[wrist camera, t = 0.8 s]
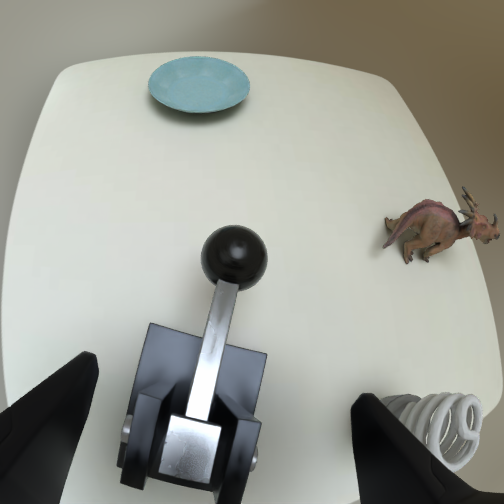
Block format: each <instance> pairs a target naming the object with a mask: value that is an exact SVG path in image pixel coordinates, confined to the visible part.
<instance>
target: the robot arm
mask: <svg viewBox="0 0 504 504" xmlns="http://www.w3.org/2000/svg"><path fill="white" fill-rule="evenodd" d="M98 376H99V368H98V363H97V357H96V355H95V354H93V353H90V352H87V351H84V352H82V353H80V354H79V355H78V356H76V357H75V358H74V359H72V360H71V361H70V362H68V363H67V364H65V365H64V366H63V367H61V368H60V369H59V370H57V371H56V372H55V373H53V374H52V375H51V376H49V377H48V378H47V379H45V380H44V381H43V382H41V383H40V384H39V385H37V386H36V387H35V388H33V389H32V390H31V391H29V392H28V393H27V394H25V395H24V396H23V397H21V398H20V399H19V400H17V401H16V402H15V403H13V404H12V405H11V407H8V408H7V409H6V410H4V411H3V412H1V413H0V504H59V503H60V499H61V496H62V492H63V489H64V485H65V482H66V479H67V475H68V472H69V469H70V466H71V463H72V460H73V457H74V454H75V451H76V448H77V445H78V442H79V439H80V436H81V434H82V431H83V428H84V425H85V423H86V420H87V417H88V414H89V410H90V406H91V402H92V398H93V394H94V391H95V387H96V383H97V380H98ZM351 428H352V445H353V453H354V459H355V466H356V472H357V479H358V487H359V494H360V502H361V504H504V493H492V492H482V491H478V490H476V489H474V488H472V487H471V486H469V485H468V484H467V483H465V482H464V481H463V480H462V479H461V478H459V477H458V476H457V475H455V474H454V473H453V472H452V471H451V470H449V469H448V468H447V467H446V466H445V465H444V464H443V463H442V462H441V461H440V460H439V459H438V458H436V457H435V456H434V455H433V454H432V453H431V452H430V451H429V450H428V449H427V448H426V447H425V446H424V445H423V444H422V443H421V442H420V441H419V440H418V439H417V438H416V437H415V436H414V435H413V434H412V433H411V432H410V431H409V430H408V429H407V428H406V427H405V425H404V424H403V423H402V422H401V421H400V420H399V419H398V418H397V417H396V416H395V415H394V414H393V413H392V412H391V411H390V410H389V409H388V408H387V407H386V406H385V405H384V404H383V403H382V402H381V401H380V400H379V399H378V398H377V397H376V396H375V395H374V394H372V393H362V394H361V395H360V396H359V397H358V399H357V400H356V401H355V403H354V404H353V405H352V407H351Z"/></svg>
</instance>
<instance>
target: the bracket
mask: <svg viewBox="0 0 504 504" xmlns="http://www.w3.org/2000/svg"><path fill="white" fill-rule="evenodd" d="M201 342H202V338H201V337H198V336H194V335H191V334H187V333H184V332H180V331H177V330H173V329H170V328H167V327H164V326H160V325H157V324H154V323H150V324H149V328H148V331H147V335H146V338H145V342H144V345H143V349H142V353H141V357H140V360H139V364H138V368H137V372H136V376H135V380H134V384H133V388H132V392H131V397H130V401H129V405H128V410H127V414H126V419H125V421H124V424H123V428H122V433H121V444H120V449H119V454H118V460H117V467H119V468H122V474H121V480H120V483H121V484H124V485H127V486H130V487H133V488H136V489H139V490H144V487H145V484H146V482H147V479H148V477H150V478H154V479H157V480H161V481H165V482H169V483H173V484H177V485H181V486H186V487H190V488H195V489H200V490H205V491H211V492H213V495H214V500H215V504H241V501H242V497H243V494H244V490H245V486H246V483H247V479H248V475H249V472H252V471H253V470H254V468H255V466H256V463H257V457H258V449H257V446H256V444H257V440H258V436H259V432H260V428H261V424H262V423H261V422H260V421H259V420H258V419H256V418H255V417H254V412H255V407H256V403H257V399H258V394H259V390H260V386H261V381H262V377H263V372H264V368H265V363H266V359H267V354H266V353H262V352H257V351H253V350H249V349H244V348H240V347H236V346H232V345H228V344H226V345H225V349H224V354H223V358H222V363H221V367H220V371H219V376H218V380H217V385H216V389H215V394H214V398H213V402H212V407H211V411H210V416H209V420H208V421H209V422H213V423H216V424H218V425H220V426H221V427H222V430H221V435H220V439H219V444H218V448H217V453H216V457H215V462H214V467H213V471H212V476H211V480H210V483H209V484H206V483H201V482H196V481H191V480H187V479H182V478H178V477H174V476H170V475H166V474H162V473H159V472H158V467H159V463H160V458H161V453H162V449H163V445H164V440H165V436H166V431H167V427H168V423H169V419H170V415H171V414H172V413H176V414H180V415H184V411H185V407H186V403H187V399H188V394H189V390H190V386H191V382H192V378H193V374H194V370H195V366H196V362H197V358H198V354H199V350H200V346H201Z"/></svg>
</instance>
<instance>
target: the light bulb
mask: <svg viewBox="0 0 504 504" xmlns="http://www.w3.org/2000/svg"><path fill="white" fill-rule="evenodd" d="M380 401H381V402H382V403H383V404H384V405H385V406H386V407H387V408H388V409H389V410H390V411H391V412H392V413H393V414H394V415H395V416H396V417H397V418H398V419H399V420H400V421H401V422H402V423H403V424H404V425H405V427H406V428H407V429H408V430H409V431H410V432H411V433H412V434H413V435H414V436H415V437H416V438H417V439H418V440H419V441H420V442H421V443H422V444H423V445H424V446H425V447H426V448H427V449H428V450H429V451H430V452H431V453H432V454H433V455H434V456H435V457H436V458H438V459H439V460H440V461H441V462H442V463H443V464H444V465H445V466H446V467H447V468H448V469H449V470H451V471H452V472H455V471H458V470H459V469H461V468H462V467H463V466H464V465H465V464H466V463H467V462H468V461H469V460H470V459H471V458H472V456H473V455H474V453H475V451H476V449H477V448H478V444H479V438H480V436H479V432H480V429H481V425H482V419H483V409H482V404H481V401H480V400H479V399H478V397H477V396H475V395H472V394H469V395H466V396H465V395H464V394H461V393H454V394H451V393H448V392H445V393H440V394H430V395H427V396H425V397H424V398H422V399H421V398H420V397H418V396H415V395H411V394H405V395H395V396H388V397H385V398H383V399H381V400H380ZM437 407H438V408H437ZM471 407H472V409H473V415H474V420H473V425H472V430H470V425H471V420H472V409H471ZM436 408H437V409H436ZM449 409H451V424H450V427H449V431H448V433H447V435H446V437H445V439H444V440H443V442H442V443H441V445H440V446H439V443H440V442H441V440H442V438H443V437H444V435H445V432H446V430H447V427H448V423H449V415H450V414H449ZM435 410H436V411H435ZM434 411H435V413H434ZM433 413H434V415H433V418H432V421H431V423H430V419H431V416H432V414H433ZM428 431H429V432H428ZM427 433H428V437H427V444H426V435H427ZM457 434H458V436H457V439H456V441H455V442H454V444H453V445H452V446H451V444H452V442H453V441H454V439H455V437H456V435H457ZM465 440H467V441H466V443H465V445H464V446H463V448H462V449H461V450H460V448H461V446H462V445H463V443H464V441H465ZM450 446H451V448H450V449H449V450H448V448H449V447H450ZM447 450H448V451H447ZM459 450H460V451H459ZM446 451H447V452H446ZM458 451H459V452H458ZM445 452H446V453H445ZM457 452H458V453H457ZM444 453H445V454H444ZM456 453H457V454H456Z"/></svg>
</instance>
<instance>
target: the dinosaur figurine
mask: <svg viewBox="0 0 504 504" xmlns="http://www.w3.org/2000/svg"><path fill="white" fill-rule="evenodd" d="M462 189H463V190H464V192H465V194H466V195H462V197H463V198H464V199H465V200H466V202H467V204H468V205H469V207H470V209H471V212H470V211H466V210H460V211H458V212H460V213H462V214H464V215H466V216H468V217H469V219H467V220H465V221H464V222H462V223H460V222H459V220H458V218H457V216H456V214H455V213H454V212H453V210H451V209H449V208H448V207H446V206H444V205H443V204H442V202H435V201H433V200H430V199H425V200H423V201H422V202H420V203H418V204H416V205H415V206H414V207H413V208H411V209H410V210H408V212H405V213H403V214H402V215H401V217H400V218H398V219H396V220H392V219H390V220H389V219H388V218H387V217H386V218H385V220H386V223H387V227H388V228H389V229H391V230H392V231H393V233H392V234H391V235H390V237H389V239H388V240H387V242H386V243H385V244H384V246H383V249H384V248H386V247H388V246H389V245H391V244H392V243H393V242H394V241H395V240H396V239H397V238H398V237H399V236H400V235H401V234H402V233H403V232H404V231H405V230H406V229H407V228H409V227H410V228H411V230H413V231H414V232H415V233H416V234H417V235H415V236H414V237H413V238H412V239H411V240H409V241H406V242H405V243H404V259H405V262H406V264H408V263H409V260H410V261H411V262H412V261H413V258H412V256H411V255H413V252H412V250H413V249H418V248H423V247H428V246H430V245H431V244H433V243H434V242H435V243H436V244H435V245H434V246H431V247H428V248H427V249H426V250H425V251H424V253H423V254H424V258H423V260H425V261H426V262H429V260H428V259H427V258H429V256H432V255H434V254H437V253H439V252H441V251H442V250H444V249H447V248H449V247H450V246H452V245H453V243H454V242H455V240H457V239H462V238H464V237H468V236H470V237H471V239H472V238H473V237H475V238H476V240H477V239H480V240H481V241H482V242H483V243H484V244H488V243H489V241H490V240H492V239H498V238H499V236H500V234H499V229H498V228H497V224H498V219H497V217H496V214H494V223H493V224H490V223H489V222H488V219H487V218H486V217H485V216H484V215H479V214H478V212H477V210H479V208H477V206H478V205H479V204H478V203H476V201H475V200H474V199H473V197H472V195H471V194H470V192H469V191H468V190H467V189H466V188H465V187H462Z"/></svg>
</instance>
